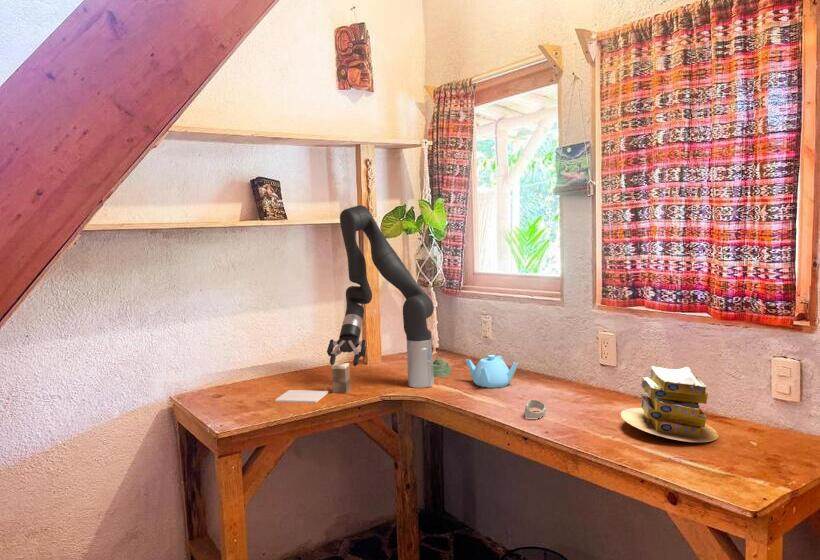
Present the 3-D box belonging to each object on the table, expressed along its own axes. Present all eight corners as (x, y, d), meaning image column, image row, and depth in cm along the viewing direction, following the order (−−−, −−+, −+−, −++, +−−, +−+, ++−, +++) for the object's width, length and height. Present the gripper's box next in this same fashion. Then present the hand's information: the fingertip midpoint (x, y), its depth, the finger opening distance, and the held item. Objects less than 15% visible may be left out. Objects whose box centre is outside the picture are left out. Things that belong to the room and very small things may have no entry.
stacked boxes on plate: (714, 421, 177) (715, 363, 175) (722, 450, 154) (722, 385, 153) (624, 413, 186) (623, 359, 185) (618, 440, 163) (617, 379, 162)
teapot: (520, 386, 221) (520, 357, 220) (482, 391, 216) (481, 361, 215) (501, 377, 235) (501, 349, 235) (465, 381, 231) (464, 353, 230)
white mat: (328, 392, 222) (328, 390, 222) (316, 402, 209) (315, 401, 209) (289, 391, 225) (289, 390, 225) (274, 401, 212) (274, 400, 212)
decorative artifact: (423, 376, 241) (448, 377, 238) (422, 359, 240) (447, 359, 238) (429, 370, 251) (453, 371, 248) (428, 353, 250) (453, 354, 247)
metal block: (350, 389, 225) (349, 363, 224) (346, 393, 220) (345, 366, 219) (337, 389, 226) (336, 362, 225) (332, 393, 221) (331, 365, 220)
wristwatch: (529, 410, 193) (528, 395, 192) (549, 412, 190) (548, 396, 190) (521, 419, 185) (520, 403, 184) (542, 421, 182) (541, 404, 182)
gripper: (331, 322, 234) (322, 359, 224) (367, 323, 231) (359, 359, 221) (335, 334, 240) (327, 370, 230) (371, 334, 237) (364, 370, 227)
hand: (343, 364), depth 226 cm, fingers open, 8 cm apart
